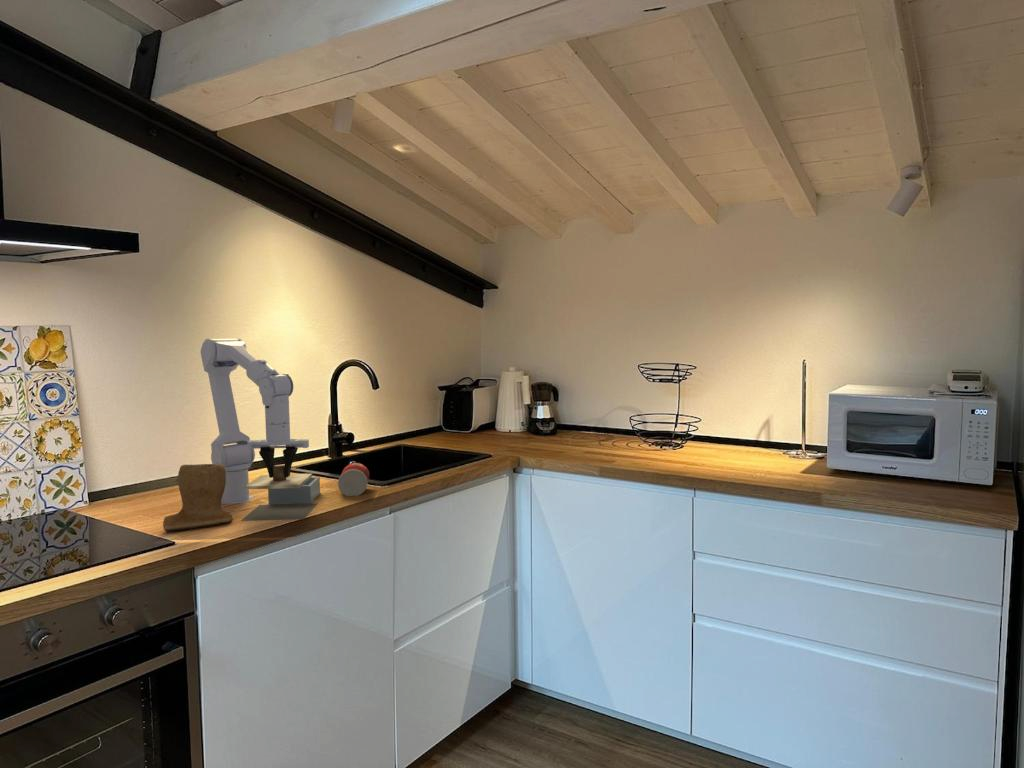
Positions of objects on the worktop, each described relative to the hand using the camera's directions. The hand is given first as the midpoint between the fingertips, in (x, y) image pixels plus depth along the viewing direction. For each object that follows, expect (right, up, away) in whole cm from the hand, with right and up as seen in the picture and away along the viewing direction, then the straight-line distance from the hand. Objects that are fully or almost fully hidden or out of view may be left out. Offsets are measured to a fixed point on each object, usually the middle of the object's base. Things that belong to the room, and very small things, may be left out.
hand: (279, 476), depth 172 cm
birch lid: (0, -2, 0) cm, 2 cm away
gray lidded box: (-1, -8, +15) cm, 17 cm away
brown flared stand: (-16, -11, -9) cm, 22 cm away
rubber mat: (0, -9, +1) cm, 9 cm away
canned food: (+13, -3, +28) cm, 31 cm away
